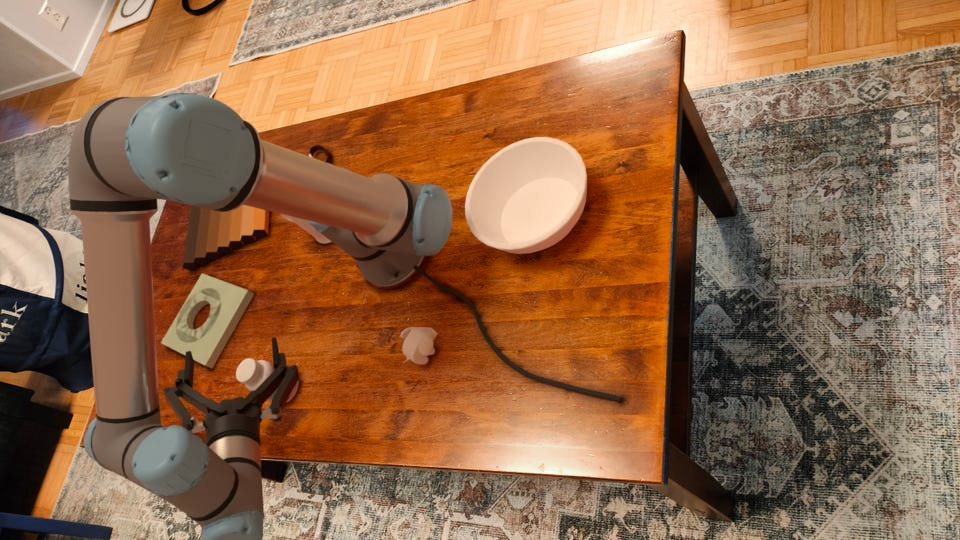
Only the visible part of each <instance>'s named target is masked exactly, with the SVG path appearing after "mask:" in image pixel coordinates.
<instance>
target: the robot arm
mask: <svg viewBox="0 0 960 540" xmlns="http://www.w3.org/2000/svg"><path fill="white" fill-rule="evenodd" d="M67 174H68V177H67V178H68V179H67V180H68V196H69V208H70V209H69V210H70V213H71V214H73V215H74V216H75V217H76V218H77V219H78V220H79V222H80V224H81V236H82V237H81V239H82V251H83V263H84V264H83V265H84V277H85V278H84V279H85V290H86V301H87V314H88V328H89V341H90V354H91V366H92V367H91V369H92V381H93V393H94V405H95V417H94V418H93V419H92V420H91V422H90V423H88V426H87V429H86V431H85V434H84V437H83V446H84V450H85V452H86V455H88V457H89V458H90V459H92V461H95V463H96V464H97V465H99V467H101V468H102V469H104V470H107V471H109V472H111V473H114V474H116V475H119V476H120V477H122V478H124V479H126V480H128V481H130V482H131V483H133V484H135V485H137V486H138V487H141V488H142V489H144V490H145V491H148V492H150V493H151V494H152V495H153V494H154V495H155V496H157V497H159V498H161V499H162V500H164V501H166V502H167V503H168V504H170V505H172V506H173V507H175V508H177V509H178V510H179V511H181V512H182V513H184V514H185V515H186V516H187V517H188V518H190V519H191V520H192V521H194V522H195V523H197V524H198V525H199V526H200V528H201V530H200V536H199V537H200V540H263V537H264V519H265V516H266V515H265V510H264V494H263V493H264V492H263V491H264V490H263V477H262V476H263V475H262V451H261V446H262V445H261V424H262V422H263V420H269V419H270V420H271V419H272V421H273V422H275V423H278V422H280V421H281V420H282V414H283V409H284V407H285V405H286V403H288V402H287V400H288V398H289V396H290V394H291V392H292V391H293V389H294V387H295V385H296V383H297V381H299V379H300V374H299V368H298V367H299V366H298V365H297V364H291V365H290V366H289V365H287V357H286V354H285V352H280V351H279V344H278V339H277V337H276V336H274V337H271V350H272V364H273V365H274V371H273V372H272V373H271V374H270V375H269V376H268V378H267V379H266V380H265V381H264V382H263V383H262V384H261V385H260V386H259V387H258V388H257V389H256V390H255V391H250V392H249V393H248V394H247V395H246V396H245V397H243V396H238V397H235V398H231V399H230V398H226V399H221V401H220V402H217V401H215V400H214V399H212V398H210V397H209V398H208V397H207V396H205V395H203V394H202V393H201V392H199V391H197V390H196V389H195V388H194V377H195V376H194V374H195V360H193V356H192V353H191V351H187V352H186V356H185V359H184V368H183V369H179V370H178V371H177V378H176V379H175V380H174V386H172V387H171V386H165V387H164V388H163V389H162V392H163V394H164V397H165V400H166V402H167V404H168V405H169V407H170V408H171V409H172V411H173V412H174V414H175V415H176V417H177V418H178V419H179V421H180V422H181V423H182V425H179V424H171V425H169V426H164V425H162V421H161V419H162V418H161V408H160V391H159V390H160V389H159V371H158V370H159V369H158V354H157V353H158V352H157V333H156V315H155V313H156V312H155V297H154V280H153V259H152V241H151V222H150V221H151V218H152V217H154V216H155V214H156V213H157V212H158V210H159V209H158V200H163V201H169V202H173V203H179V204H184V205H188V206H191V205H192V206H196V207H201V208H205V209H210V210H215V211H219V212H230V211H233V210H235V209H237V208H238V207H240V206H241V205H246V206H250V207H255V208H259V209H263V210H267V211H269V212H272V213H276V214H279V215H280V214H283V215H288V216H292V217H296V218H300V219H304V220H307V221H308V222H309V224H310V225H312V226H313V227H314V228H315V230H316V231H317V232H319V233H321V234H322V235H324V236H325V237H326V238H328V239H329V240H330V241H332V242H331V243H333V244H334V245H335V246H336V247H338V248H340V249H341V250H342V251H343V252H345V253H346V254H348V255H349V256H350V257H352V258H353V259H354V261H355V263H356V268H357V269H359V270H360V272H361V274H362V276H363V277H364V279H365V280H366V281H367V282H368V283H370V284H371V285H373V286H374V287H375V288H377V289H381V290H395V289H398V288H401V287H403V286H405V285H406V284H408V283H409V282H411V281H413V279H415V277H417V275H419V274H420V275H422V276H423V278H426V280H427V281H428V282H431V283H432V284H433V285H435V286H436V287H437V288H439V289H441V290H442V291H444V292H446V293H448V294H450V295H452V296H454V297H456V298H458V299H460V300H461V301H462V302H464V303H465V304H466V305H467V306H468V307H469V308H470V310H471V311H472V313H473V316H474V318H475V321H476V323H477V326H478V329H479V331H480V333H481V335H482V337H483V338H484V340H485V341H486V343H487V344H488V346H489V347H490V348H491V349H492V351H493V352H494V353H495V355H497V357H498V358H500V360H501V361H503V362H504V363H505V364H506V365H507V366H509V367H510V368H511V369H513V370H514V371H515V372H517V373H519V374H520V375H522V376H524V377H527V378H528V379H531V380H534V381H536V382H539V383H542V384H546V385H549V386H550V385H551V386H553V387H557V388H561V389H564V390H568V391H571V392H575V393H578V394H582V395H587V396H590V397H591V396H592V397H596V398H601V399H605V400H610V401H614V402H619V403H621V402H622V400H623V399H622V395H621V396H620V395H616V394H612V393H607V392H603V391H597V390H593V389H589V388H584V387H581V386H576V385H572V384H570V383H569V384H568V383H566V382H563V381H558V380H554V379H550V378H548V377H547V378H546V377H544V376H543V377H542V376H539V375H537V374H534V373H531V371H528V370H526V369H524V368H522V367H520V366H519V365H517V364H516V363H514V361H512V360H510V359H509V358H508V357H507V356H506V355H505V354H504V353H503V352H502V350H500V349H499V348H498V347H497V345H496V344H495V343H494V342H493V340H492V339H491V337H490V336H489V335H488V333H487V330H486V329H485V326H484V324H483V321H482V319H481V315H480V314H479V312H478V310H477V308H476V306H475V305H474V304H473V302H471V300H470V299H468V297H466V296H465V295H463V293H460V292H458V291H457V290H454V289H452V288H450V287H448V286H446V285H444V284H442V283H441V282H439V281H438V280H437V279H435V278H434V277H432V276H431V275H430V274H429V273H427V272H426V271H425V270H423V268H424V267H425V265H426V263H427V261H428V259H429V257H432V256H435V255H436V254H438V253H440V252H441V251H442V249H443V248H444V246H445V245H446V244H447V241H448V240H449V237H450V234H451V231H452V225H453V206H452V201H451V199H450V196H449V194H448V193H447V191H446V190H445V188H443V187H442V186H440V185H436V184H432V183H424V184H423V183H418V182H417V183H415V182H411V181H409V180H405V179H403V178H400V177H398V176H395V175H393V174H389V173H376V174H373V175H371V176H369V177H368V176H366V175H363V174H360V173H357V172H354V171H352V170H350V169H349V168H346V167H341V166H337V165H335V164H332V163H330V164H329V163H326V161H323V160H321V159H317V158H315V157H313V158H312V157H309V155H306V154H304V153H301V152H297V151H295V150H292V149H289V148H286V147H285V146H281V145H279V144H278V145H277V144H276V143H272V142H270V141H267V140H263V139H261V137H260V134H259V132H258V129H256V128H255V126H254V125H253V124H252V123H250V122H249V121H247V120H245V119H243V118H242V117H241V116H240V114H239V113H238V112H236V111H235V110H234V109H233V108H231V107H230V106H229V105H227V104H226V103H224V102H222V101H220V100H218V99H216V98H213V97H210V96H205V95H201V94H198V93H197V94H196V93H192V92H175V93H174V92H173V93H168V94H163V95H151V96H150V95H149V96H117V97H116V96H115V97H112V98H108V99H105V100H102V101H100V102H98V103H96V104H95V105H93V106H92V107H91V108H89V109H88V111H86V112H85V113H84V114H83V115H82V116H81V118H80V120H79V121H78V123H77V124H76V126H75V128H74V131H73V133H72V137H71V141H70V145H69V152H68V164H67ZM276 390H277V391H276ZM275 391H276V393H275V395H274V396H273V399H272V400H271V402H268V403H267V405H266V408H265V409H263V406H264V404H265V403H266V401H267V400H269V399H268V398H269V397H270V396H271V395H272V394H273V393H274V392H275ZM181 399H182V400H184V401H185V402H187V403H188V404H189V405H191V406H192V407H193V408H195V409H197V410H198V411H200V412H201V413H202V414H204V415H205V417H204V418H203V420H202V421H199V419H198V418H196V417H194V416H191V413H190V411H189V410H188V408H187V406H185V404H184V403H183V402H182V400H181ZM204 431H205V442H204V440H203V439H202V438H201V437H200V436H199V435H196V433H200V432H204Z"/></svg>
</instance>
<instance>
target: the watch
mask: <svg viewBox="0 0 960 540" xmlns="http://www.w3.org/2000/svg"><path fill="white" fill-rule="evenodd" d="M318 151H324V152H326V156H327V158H326V160H325V162H326V163H329V164H331V160H332V159H331V158H332V157H331V155H330V153H329V151H328V150H327V149H326V148H325V146H323V145H320V144H315V145H313V146H311V147H310V149H309V154H308V156H309V157H312V158H314V154H315V153H316V152H318Z"/></svg>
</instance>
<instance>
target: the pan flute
mask: <svg viewBox="0 0 960 540" xmlns="http://www.w3.org/2000/svg"><path fill="white" fill-rule="evenodd" d="M269 226H270V211H267V210H263V209H259V208H255V207H250V206H246V205H241V206H240V207H238V208H237V209H235V210H233V211H230V212H219V211H215V210H210V209H205V208H201V207H196V206H192V205H190V209H189V216H188V225H187V231H186V238H185V246H184V253H183V262H182V269H184V270H187V271H194V270H196V269H198V268H200V267H199V266H202V267H203V266H205V265H207V264H209V263H211V261H216V260H218V259H220V258H222V255H224V256H227V255H229V254H230V253H233V252H234V251H233V250H240V249H241V248H244V247H245V244H247V245H251V244H253V243H255V242H257V238H258V239H264V238H265V237H267V236H269V228H270V227H269Z"/></svg>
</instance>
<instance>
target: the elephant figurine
mask: <svg viewBox="0 0 960 540" xmlns="http://www.w3.org/2000/svg"><path fill="white" fill-rule="evenodd" d="M438 334H439V332H437V331H436V330H435V329H434V328H433V326H431V327H428V326H426V327H424V326H409V327H406V328H405V329H403V330H402V331H401V332H400V334H399V338H400V339H404V341H403V343H402V346H401V351H402V354H403V355H404V357H406V359H405V360H404V361H403V362H402V364H405V363H407V362H408V361H411V362H412V363H413V364H416V365H427V364H428V362H429V356H432V355H434V354H435V353H436V349H435V347H434V340H435V339H436V338H437V336H438Z"/></svg>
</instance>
